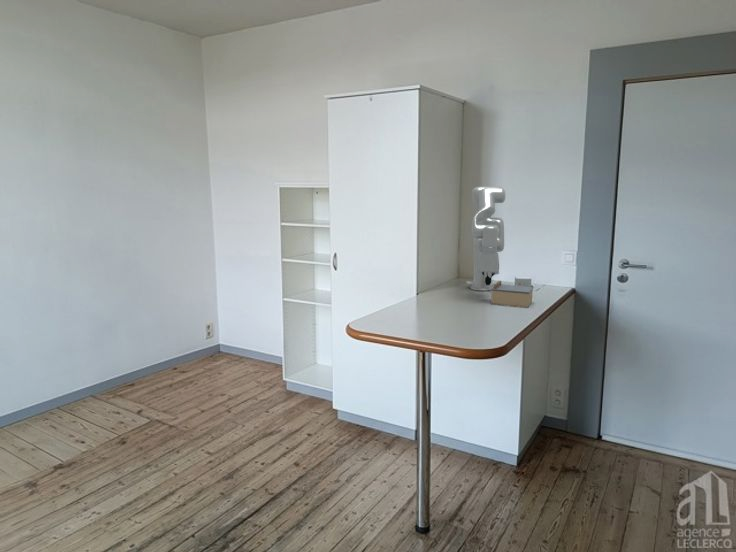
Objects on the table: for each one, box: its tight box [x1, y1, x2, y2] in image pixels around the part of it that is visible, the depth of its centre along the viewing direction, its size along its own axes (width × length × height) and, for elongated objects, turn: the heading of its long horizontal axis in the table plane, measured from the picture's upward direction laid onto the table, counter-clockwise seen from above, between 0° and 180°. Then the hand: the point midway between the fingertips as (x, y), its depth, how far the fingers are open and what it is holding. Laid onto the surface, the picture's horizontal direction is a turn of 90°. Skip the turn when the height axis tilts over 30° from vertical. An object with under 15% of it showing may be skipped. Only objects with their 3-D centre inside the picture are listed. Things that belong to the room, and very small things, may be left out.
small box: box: [514, 276, 532, 287], centre depth 277 cm, size 8×6×10 cm
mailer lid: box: [490, 280, 534, 293], centre depth 260 cm, size 19×15×3 cm
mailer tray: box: [491, 288, 534, 308], centre depth 261 cm, size 18×14×7 cm
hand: (488, 284), depth 265 cm, fingers closed
